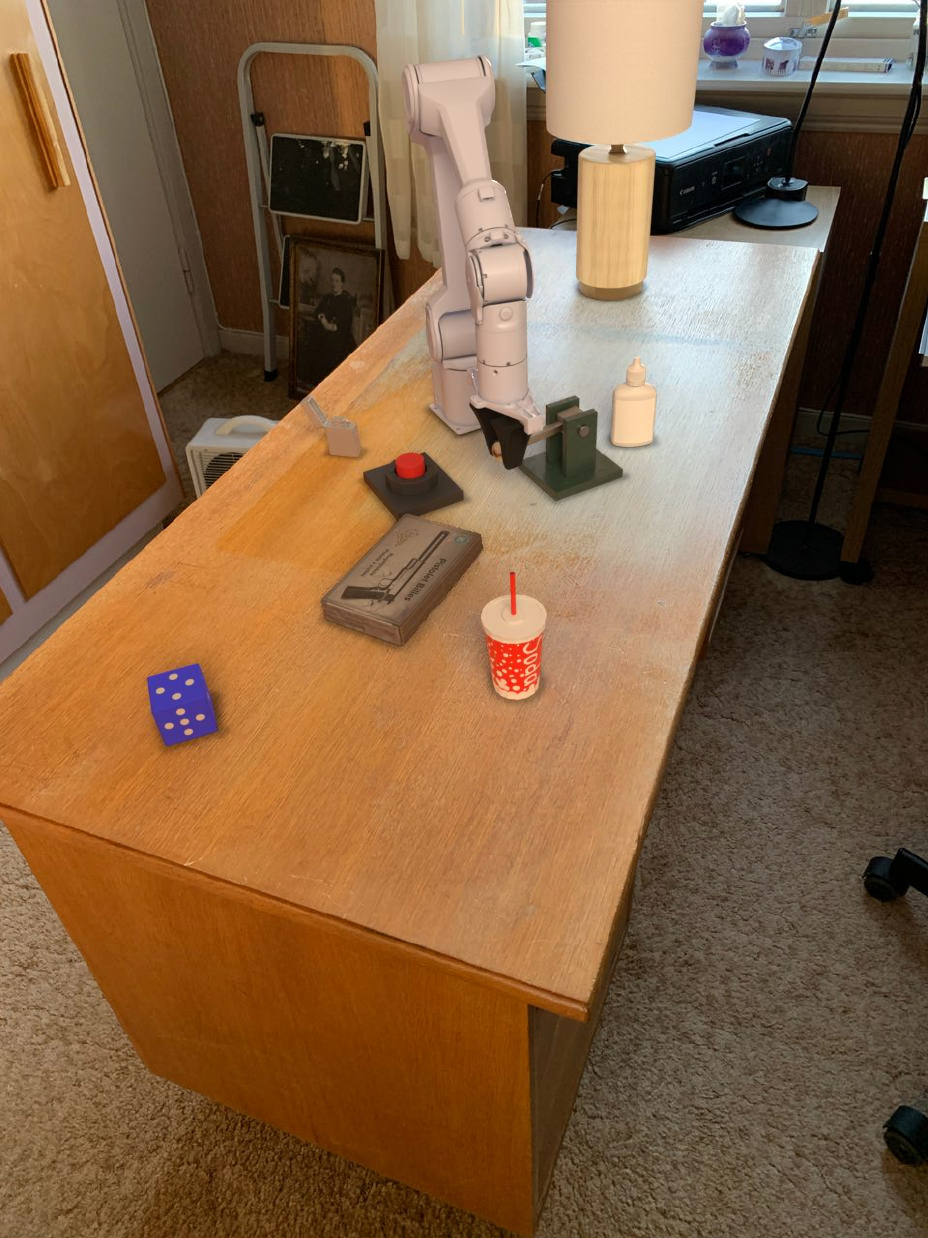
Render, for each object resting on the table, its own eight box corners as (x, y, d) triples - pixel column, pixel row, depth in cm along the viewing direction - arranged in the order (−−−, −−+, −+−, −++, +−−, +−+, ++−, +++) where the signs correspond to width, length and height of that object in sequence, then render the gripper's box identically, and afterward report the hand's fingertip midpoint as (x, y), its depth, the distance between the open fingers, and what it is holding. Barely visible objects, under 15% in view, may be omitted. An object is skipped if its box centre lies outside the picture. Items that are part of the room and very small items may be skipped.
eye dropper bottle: (645, 453, 120) (652, 369, 112) (605, 444, 122) (609, 361, 114) (656, 437, 123) (664, 354, 115) (617, 429, 125) (622, 346, 117)
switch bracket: (555, 501, 113) (556, 435, 107) (519, 468, 119) (517, 404, 113) (622, 476, 116) (626, 411, 110) (583, 445, 123) (585, 382, 116)
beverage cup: (501, 713, 88) (495, 603, 78) (475, 673, 92) (467, 564, 82) (558, 692, 89) (559, 582, 80) (529, 653, 93) (527, 544, 84)
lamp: (586, 255, 173) (595, -31, 143) (698, 276, 162) (732, -28, 133) (521, 298, 160) (515, -6, 130) (638, 325, 149) (660, 0, 119)
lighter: (361, 450, 125) (353, 397, 120) (357, 457, 124) (348, 404, 119) (314, 445, 127) (303, 393, 122) (309, 452, 126) (298, 400, 120)
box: (485, 553, 105) (483, 531, 103) (404, 648, 95) (399, 626, 93) (408, 531, 110) (404, 510, 108) (322, 620, 99) (316, 598, 97)
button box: (364, 480, 119) (361, 459, 117) (425, 460, 122) (423, 439, 120) (399, 522, 112) (396, 501, 110) (464, 499, 115) (462, 478, 113)
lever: (501, 471, 110) (498, 448, 108) (488, 459, 112) (485, 437, 110) (588, 433, 113) (587, 411, 111) (574, 422, 115) (572, 400, 113)
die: (218, 732, 88) (205, 696, 85) (166, 747, 87) (151, 712, 84) (211, 697, 92) (198, 661, 88) (161, 711, 91) (146, 676, 87)
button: (392, 469, 116) (390, 457, 115) (417, 461, 117) (416, 449, 116) (404, 482, 113) (402, 470, 112) (430, 473, 115) (428, 462, 113)
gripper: (441, 341, 106) (449, 443, 115) (502, 390, 96) (506, 497, 105) (494, 325, 108) (498, 427, 117) (559, 372, 99) (558, 479, 108)
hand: (505, 459), depth 112 cm, fingers closed on lever, 3 cm apart
